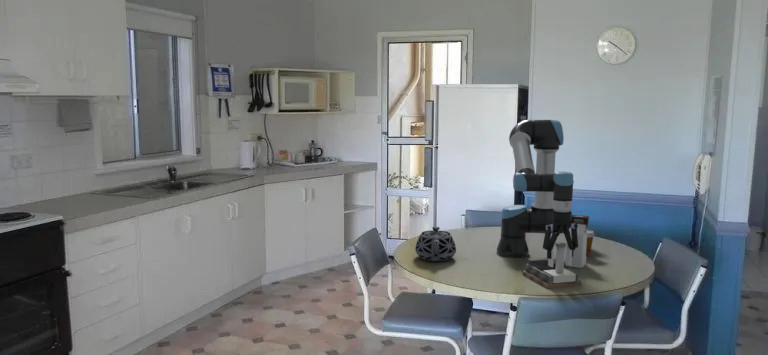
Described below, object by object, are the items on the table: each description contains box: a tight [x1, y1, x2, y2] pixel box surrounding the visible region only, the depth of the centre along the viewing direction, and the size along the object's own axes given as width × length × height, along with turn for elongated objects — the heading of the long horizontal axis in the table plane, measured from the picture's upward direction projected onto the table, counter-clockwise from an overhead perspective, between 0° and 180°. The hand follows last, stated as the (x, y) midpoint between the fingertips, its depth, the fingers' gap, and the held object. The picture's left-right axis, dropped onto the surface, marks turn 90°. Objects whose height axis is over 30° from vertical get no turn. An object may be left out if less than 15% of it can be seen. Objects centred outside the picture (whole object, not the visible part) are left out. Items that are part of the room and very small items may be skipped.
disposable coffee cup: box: [586, 229, 595, 258], centre depth 299 cm, size 10×10×12 cm
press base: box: [521, 257, 583, 289], centre depth 261 cm, size 20×16×6 cm
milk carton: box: [565, 224, 587, 269], centre depth 282 cm, size 7×7×19 cm
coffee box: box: [571, 214, 590, 230], centre depth 315 cm, size 9×6×16 cm
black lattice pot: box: [414, 226, 457, 262], centre depth 294 cm, size 19×31×15 cm, turn 177°
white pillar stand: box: [543, 241, 576, 283], centre depth 255 cm, size 8×10×15 cm
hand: (559, 265), depth 255 cm, fingers open, 8 cm apart
